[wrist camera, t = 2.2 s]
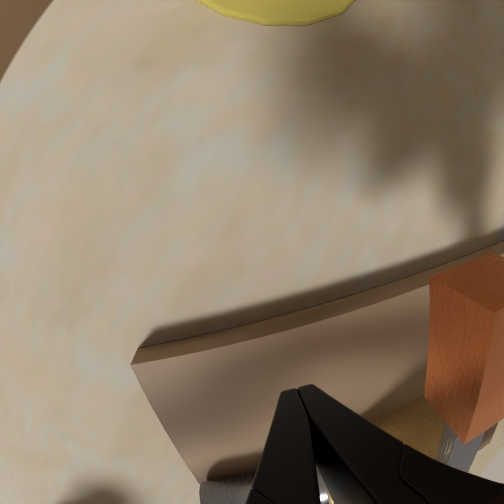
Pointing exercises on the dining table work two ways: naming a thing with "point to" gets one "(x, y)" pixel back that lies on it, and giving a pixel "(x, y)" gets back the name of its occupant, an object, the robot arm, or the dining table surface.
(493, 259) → the valve lever
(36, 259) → the dining table surface
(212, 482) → the valve body
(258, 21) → the candle
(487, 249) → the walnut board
